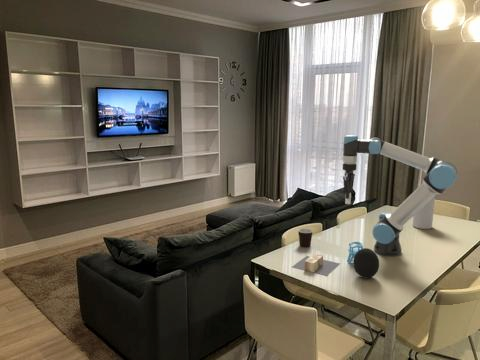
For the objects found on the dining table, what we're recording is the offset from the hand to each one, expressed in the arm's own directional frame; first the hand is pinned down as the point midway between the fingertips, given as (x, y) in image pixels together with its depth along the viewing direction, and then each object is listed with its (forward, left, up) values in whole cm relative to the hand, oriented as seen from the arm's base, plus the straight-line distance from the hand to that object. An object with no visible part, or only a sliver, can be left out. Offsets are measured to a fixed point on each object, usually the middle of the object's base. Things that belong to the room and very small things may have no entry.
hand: (347, 203), depth 223 cm
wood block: (+6, +26, -26) cm, 37 cm away
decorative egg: (-20, +27, -30) cm, 45 cm away
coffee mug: (+24, +3, -30) cm, 38 cm away
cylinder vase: (-28, -76, -30) cm, 86 cm away
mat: (+6, +29, -29) cm, 41 cm away
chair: (-10, +13, -30) cm, 34 cm away
